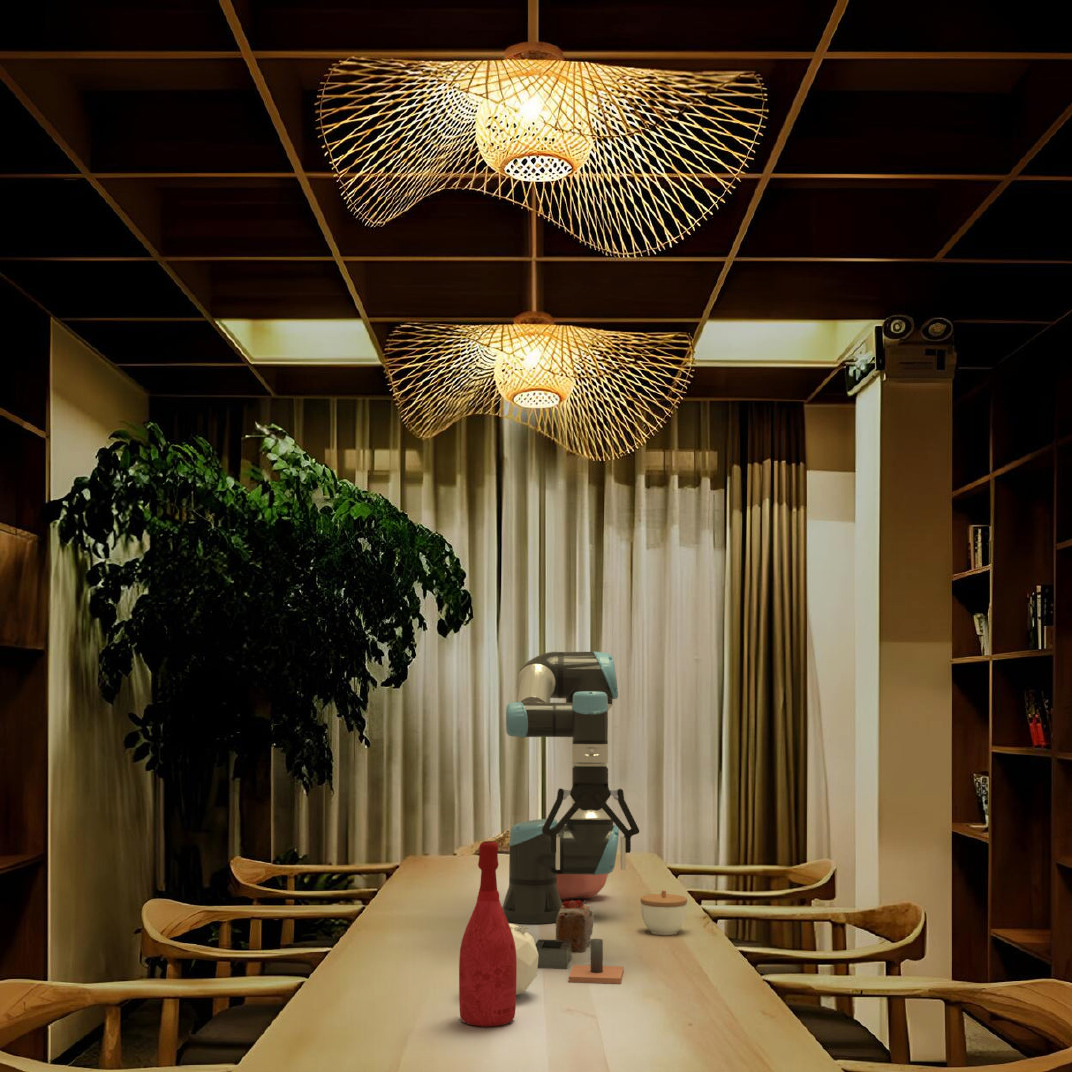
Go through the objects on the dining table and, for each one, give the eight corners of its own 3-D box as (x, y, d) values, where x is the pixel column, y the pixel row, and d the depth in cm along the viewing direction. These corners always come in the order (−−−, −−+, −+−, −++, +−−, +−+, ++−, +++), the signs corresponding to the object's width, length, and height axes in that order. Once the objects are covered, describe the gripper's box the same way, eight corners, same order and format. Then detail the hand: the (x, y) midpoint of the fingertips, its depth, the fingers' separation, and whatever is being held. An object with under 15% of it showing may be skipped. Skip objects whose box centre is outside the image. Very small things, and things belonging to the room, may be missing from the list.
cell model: (612, 905, 322) (611, 860, 323) (534, 904, 322) (534, 859, 323) (609, 893, 338) (609, 851, 340) (535, 893, 339) (535, 850, 340)
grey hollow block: (538, 956, 262) (538, 939, 263) (571, 957, 261) (571, 940, 262) (532, 967, 252) (532, 949, 253) (566, 968, 251) (566, 950, 252)
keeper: (573, 970, 250) (573, 934, 251) (623, 971, 249) (623, 935, 250) (568, 982, 240) (568, 944, 241) (620, 983, 239) (620, 946, 240)
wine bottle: (481, 1010, 220) (483, 836, 223) (527, 1019, 214) (528, 840, 218) (446, 1022, 212) (448, 842, 215) (493, 1032, 206) (494, 846, 210)
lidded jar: (685, 938, 281) (685, 895, 282) (637, 936, 283) (637, 893, 284) (689, 928, 292) (688, 887, 293) (643, 926, 294) (643, 885, 295)
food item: (558, 939, 280) (558, 894, 281) (593, 939, 280) (593, 894, 281) (554, 952, 267) (554, 905, 268) (591, 953, 266) (591, 905, 267)
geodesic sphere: (565, 958, 235) (522, 897, 238) (550, 975, 222) (504, 910, 225) (506, 1003, 237) (464, 941, 240) (487, 1022, 223) (443, 956, 226)
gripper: (531, 765, 259) (530, 870, 255) (651, 765, 260) (652, 871, 256) (530, 764, 266) (529, 867, 263) (647, 765, 267) (648, 867, 264)
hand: (590, 869), depth 260 cm, fingers open, 13 cm apart
